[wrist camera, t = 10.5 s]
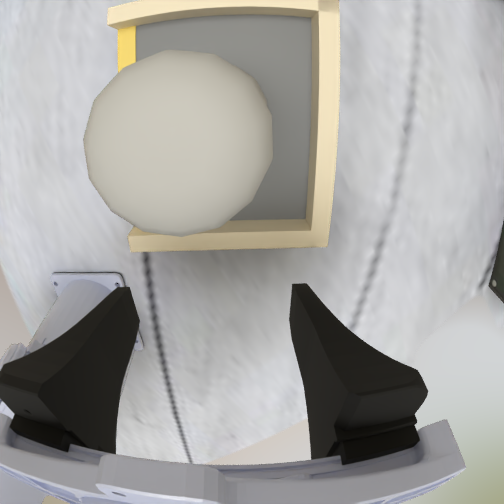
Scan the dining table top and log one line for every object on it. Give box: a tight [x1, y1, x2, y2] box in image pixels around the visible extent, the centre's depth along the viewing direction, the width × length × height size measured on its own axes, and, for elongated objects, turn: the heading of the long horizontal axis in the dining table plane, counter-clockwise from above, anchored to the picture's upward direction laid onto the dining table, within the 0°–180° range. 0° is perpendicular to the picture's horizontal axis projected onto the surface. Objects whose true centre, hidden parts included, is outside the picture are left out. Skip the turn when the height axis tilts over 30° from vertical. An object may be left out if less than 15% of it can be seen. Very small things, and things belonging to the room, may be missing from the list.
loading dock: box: [107, 0, 340, 252], centre depth 17 cm, size 16×13×4 cm
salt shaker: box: [83, 50, 273, 237], centre depth 11 cm, size 6×6×13 cm
